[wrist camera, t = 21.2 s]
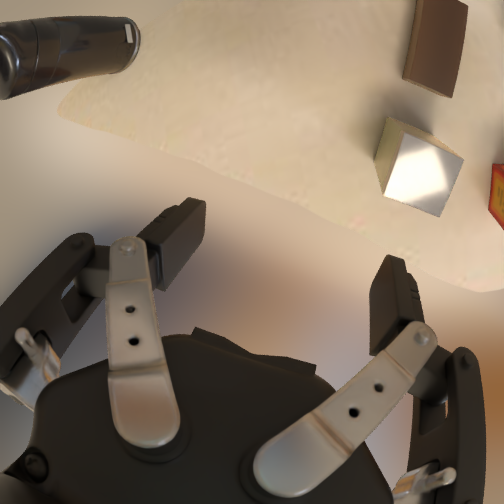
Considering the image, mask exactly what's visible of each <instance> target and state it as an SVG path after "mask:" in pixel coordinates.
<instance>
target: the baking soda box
mask: <svg viewBox="0 0 504 504" xmlns="http://www.w3.org/2000/svg"><path fill="white" fill-rule="evenodd" d="M488 210H489V212H490V213H491V214H492V215H493V217H494V218H495V219H496V221H497V222H498V223H499V224H500V226H501V227H502V228H503V230H504V164H493V165H492V180H491V191H490V200H489V208H488Z"/></svg>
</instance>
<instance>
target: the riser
mask: <svg viewBox="0 0 504 504" xmlns="http://www.w3.org/2000/svg"><path fill="white" fill-rule="evenodd" d="M467 14H468V5H466V4H464V3H462V2H460V1H458V0H417V3H416V10H415V17H414V23H413V29H412V34H411V40H410V45H409V50H408V55H407V60H406V64H405V69H404V73H403V78H402V79H403V80H405V81H408V82H410V83H413V84H415V85H417V86H420V87H422V88H424V89H427V90H429V91H431V92H433V93H436V94H438V95H440V96H444V97H448V98H452V96H453V92H454V87H455V83H456V79H457V74H458V70H459V65H460V60H461V55H462V49H463V43H464V37H465V30H466V22H467Z"/></svg>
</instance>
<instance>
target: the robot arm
mask: <svg viewBox="0 0 504 504" xmlns="http://www.w3.org/2000/svg"><path fill="white" fill-rule="evenodd" d="M139 44H140V33H139V29H138V27H137V25H136V24H135V22H133V20H131V19H129V18H126V17H106V16H66V17H65V16H63V17H48V18H39V19H29V20H22V21H13V22H2V23H0V100H6V99H10V98H13V97H15V96H19V95H21V94H24V93H27V92H31V91H34V90H37V89H40V88H44V87H48V86H51V85H55V84H59V83H63V82H68V81H72V80H77V79H81V78H86V77H92V76H98V75H104V74H114V73H119V72H121V71H123V70H125V69H126V68H127V67H128V66H129V65H130V64H131V63H132V61H133V60H134V58H135V57H136V54H137V52H138V49H139ZM205 215H206V202H205V201H203V200H198V199H195V198H191V197H188V198H187V199H186V200H185V201H183V202H182V203H181V204H180V205H179V206H177V205H174V206H172V207H170V208H167V209H165V210H164V211H163V212H162V213H161V214H160V215H159V216H158V217H156V218H155V219H154V220H153V221H152V222H151V223H150V224H149V225H147V226H146V227H145V228H144V229H143V230H142V231H141V232H140V233H139V234H138V235H137V236H136V237H133V236H128V237H123V238H120V239H118V240H116V241H115V242H114V243H113V244H112V245H111V246H101V245H95V243H94V238H93V236H92V235H90V234H88V233H76V234H73V235H71V236H69V237H68V238H66V239H65V240H64V241H63V242H62V243H61V244H60V245H59V246H58V247H57V248H56V249H54V251H52V252H51V254H49V255H48V256H47V257H46V258H45V259H44V260H43V261H42V262H41V263H40V264H39V265H38V266H37V267H36V268H35V269H34V270H33V271H32V272H31V273H30V274H29V275H28V276H27V277H26V279H25V280H24V281H23V282H22V283H21V284H20V285H19V286H18V287H17V288H16V289H15V290H14V292H13V293H12V294H11V295H10V296H9V297H8V298H7V300H6V301H5V302H4V303H3V304H2V305H1V306H0V389H1V390H2V391H3V392H4V393H5V394H7V395H9V396H10V397H11V398H12V399H13V400H14V401H15V402H17V403H18V404H20V405H26V406H27V407H28V408H29V409H31V410H32V411H33V412H34V419H33V428H32V433H31V437H30V441H29V444H28V446H27V448H26V450H25V452H24V453H23V454H22V455H21V456H20V457H19V458H18V459H17V460H16V461H15V462H14V463H12V464H11V465H10V466H9V467H7V468H6V469H5V470H3V471H2V472H1V473H0V504H483V497H484V486H485V471H486V424H485V409H484V400H483V399H484V398H483V390H482V382H481V375H480V368H479V363H478V360H477V358H476V356H475V355H474V353H473V352H471V351H470V350H469V349H468V348H465V347H458V348H457V349H456V350H455V351H454V352H453V353H451V352H449V351H447V350H445V349H444V348H442V347H440V346H439V345H437V342H438V341H437V337H436V335H435V333H434V331H433V330H432V329H431V328H430V327H429V326H428V325H427V324H425V321H424V315H423V310H422V305H421V301H420V296H419V293H418V292H419V291H418V286H417V283H416V281H415V279H414V278H413V276H412V275H411V274H410V273H407V270H406V266H405V261H404V259H401V258H398V257H395V256H392V255H386V257H385V258H384V260H383V262H382V264H381V266H380V268H379V270H378V273H377V274H376V276H375V278H374V280H373V282H372V285H371V288H370V293H369V300H370V301H369V302H370V353H369V354H370V355H371V356H375V357H374V358H373V359H372V360H371V361H370V362H369V363H368V364H367V365H366V366H365V367H364V368H363V369H362V370H361V371H360V372H358V373H357V374H356V375H355V376H354V377H353V378H352V379H351V380H350V381H348V382H347V383H346V384H345V385H344V386H343V387H341V388H340V389H339V390H338V391H337V392H336V391H335V389H334V388H333V387H332V386H331V385H330V384H329V383H328V382H326V381H325V380H324V379H322V378H321V377H319V376H317V375H316V374H315V371H316V365H315V364H311V363H307V362H303V361H300V360H296V359H293V358H289V357H282V356H269V355H256V354H252V353H249V352H248V351H247V350H245V349H243V348H241V347H240V346H238V345H236V344H235V343H233V342H231V341H230V340H228V339H226V338H225V337H222V336H219V335H217V334H214V333H211V332H208V331H205V330H202V329H200V328H197V327H195V328H194V330H193V332H192V334H191V335H186V334H176V335H168V336H163V337H161V335H160V330H159V325H158V319H157V314H156V309H155V303H154V297H153V291H154V289H155V288H157V289H159V290H162V291H166V289H167V288H168V287H169V285H170V284H171V282H172V281H173V280H174V278H175V277H176V276H177V274H178V273H179V272H180V270H181V269H182V268H183V266H184V265H185V264H186V262H187V261H188V260H189V258H190V257H191V256H192V254H193V253H194V252H195V250H196V249H197V248H198V247H199V245H200V244H201V242H202V240H203V236H204V231H205ZM72 280H73V282H74V286H73V287H72V288H71V289H70V290H69V291H68V293H67V294H66V295H65V296H64V297H63V299H62V300H61V296H62V293H63V291H64V289H65V288H66V287H67V286H68V285H69V283H70V282H71V281H72ZM103 298H105V299H106V332H107V349H108V359H105V360H103V361H100V362H98V363H95V364H92V365H90V366H87V367H85V368H82V369H79V370H77V371H74V372H72V373H69V374H66V375H63V376H61V377H60V376H59V372H60V369H61V362H60V359H61V357H62V356H63V354H64V353H65V351H66V349H67V348H68V347H69V345H70V344H71V342H72V341H73V339H74V338H75V337H76V335H77V334H78V332H79V331H80V330H81V328H82V327H83V325H84V324H85V323H86V321H87V320H88V318H89V317H90V316H91V314H92V313H93V312H94V310H95V309H96V308H97V306H98V305H99V304H100V302H101V301H102V300H103ZM407 392H408V393H409V394H411V395H413V397H414V398H413V419H412V432H411V442H410V451H409V460H408V466H407V473H405V474H404V475H403V476H402V477H400V479H399V480H398V482H397V484H396V487H395V488H394V489H393V491H391V489H390V487H389V485H388V483H387V481H386V479H385V478H384V476H383V474H382V472H381V471H380V469H379V467H378V465H377V463H376V461H375V459H374V458H373V456H372V454H371V452H370V450H369V448H368V447H367V445H366V443H365V441H364V440H365V439H366V438H367V437H368V436H369V435H370V434H371V433H372V432H373V431H374V430H375V428H376V427H378V425H379V424H380V423H381V422H382V421H383V420H384V419H385V418H386V417H387V415H388V414H389V413H390V412H391V411H392V409H393V408H394V407H395V406H396V405H397V404H398V402H399V401H400V400H401V399H402V398H403V396H404V395H405V394H406V393H407ZM446 400H448V414H447V417H446V416H445V415H446V414H445V412H446V411H445V401H446ZM445 417H446V418H445Z"/></svg>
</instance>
